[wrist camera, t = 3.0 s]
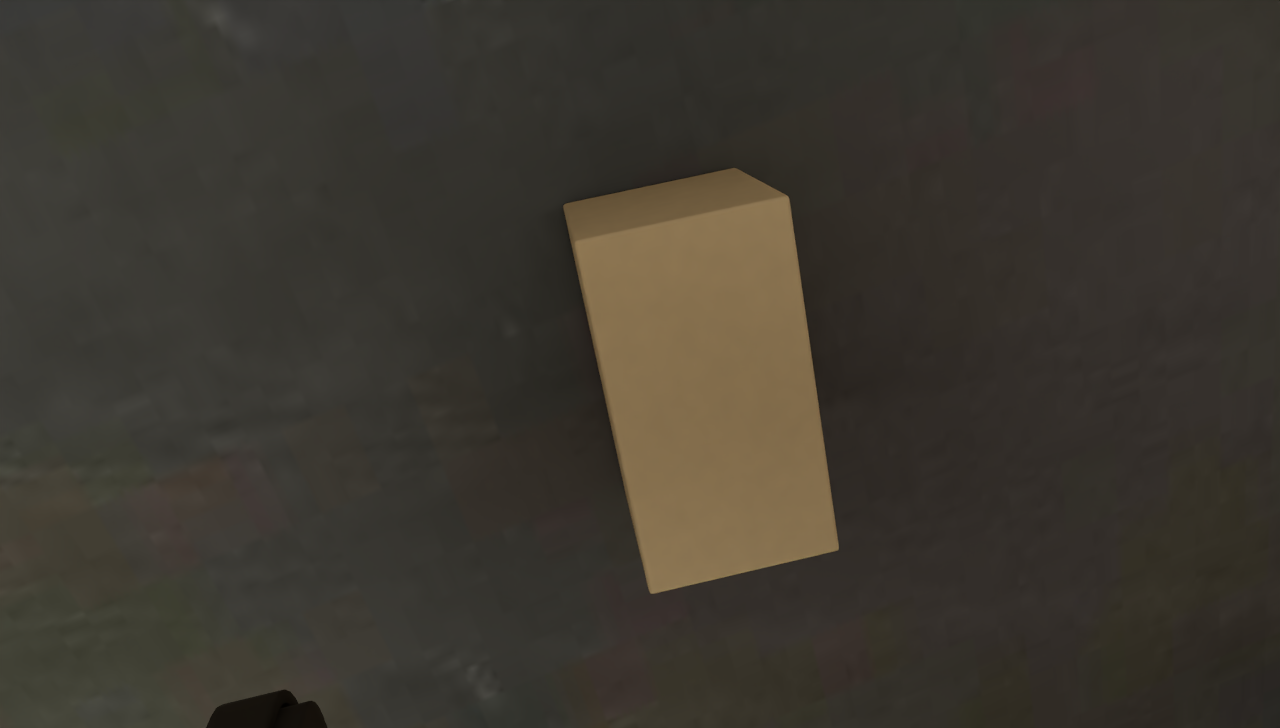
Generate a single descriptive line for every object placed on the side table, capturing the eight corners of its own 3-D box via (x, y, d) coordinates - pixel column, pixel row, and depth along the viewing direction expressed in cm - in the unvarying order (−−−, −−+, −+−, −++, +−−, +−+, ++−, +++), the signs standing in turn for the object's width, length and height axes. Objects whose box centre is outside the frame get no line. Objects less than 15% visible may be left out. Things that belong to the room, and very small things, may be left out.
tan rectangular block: (562, 203, 19) (572, 241, 15) (736, 166, 19) (789, 195, 15) (626, 498, 21) (650, 596, 17) (783, 462, 21) (840, 551, 18)
